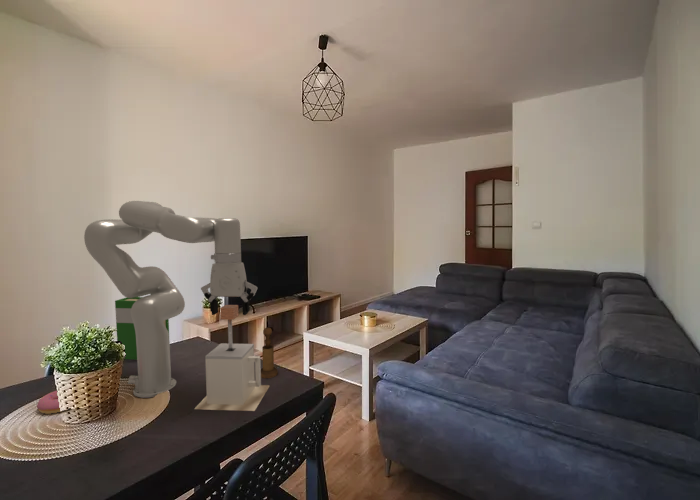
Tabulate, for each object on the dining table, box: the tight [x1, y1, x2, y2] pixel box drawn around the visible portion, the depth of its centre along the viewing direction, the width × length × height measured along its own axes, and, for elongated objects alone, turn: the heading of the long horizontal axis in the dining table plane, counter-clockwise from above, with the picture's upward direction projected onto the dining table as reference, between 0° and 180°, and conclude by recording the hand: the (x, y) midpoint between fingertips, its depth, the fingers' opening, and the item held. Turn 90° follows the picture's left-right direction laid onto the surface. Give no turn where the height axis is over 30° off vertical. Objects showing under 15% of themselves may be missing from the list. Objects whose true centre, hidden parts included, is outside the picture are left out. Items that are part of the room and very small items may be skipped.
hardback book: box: [114, 296, 170, 361], centre depth 146 cm, size 18×7×24 cm, turn 84°
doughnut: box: [36, 390, 61, 415], centre depth 107 cm, size 11×11×4 cm
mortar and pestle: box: [261, 327, 279, 379], centre depth 126 cm, size 7×6×18 cm
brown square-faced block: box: [219, 304, 239, 351], centre depth 110 cm, size 8×8×19 cm
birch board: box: [194, 384, 271, 412], centre depth 111 cm, size 18×16×1 cm
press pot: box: [205, 342, 262, 405], centre depth 111 cm, size 15×11×15 cm
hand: (230, 313), depth 109 cm, fingers open, 9 cm apart
